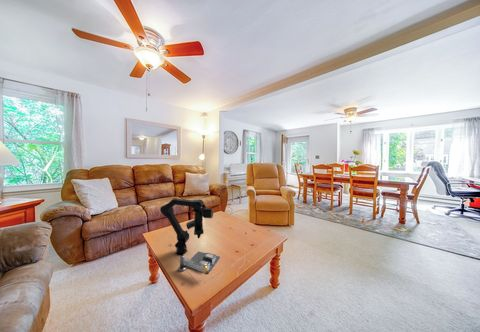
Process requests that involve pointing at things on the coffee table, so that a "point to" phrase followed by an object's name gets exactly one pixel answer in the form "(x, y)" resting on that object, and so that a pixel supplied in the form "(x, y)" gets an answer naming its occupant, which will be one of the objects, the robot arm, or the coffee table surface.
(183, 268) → the pivot post
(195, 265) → the cable arm
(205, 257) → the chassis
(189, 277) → the coffee table surface
